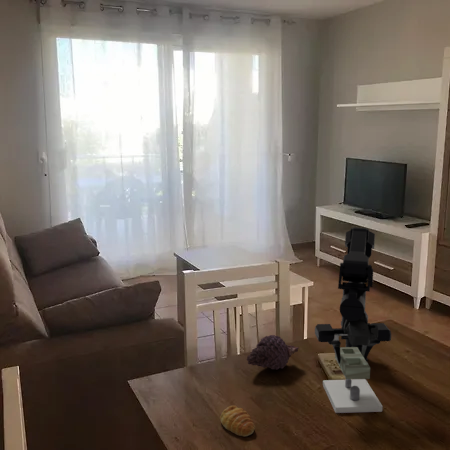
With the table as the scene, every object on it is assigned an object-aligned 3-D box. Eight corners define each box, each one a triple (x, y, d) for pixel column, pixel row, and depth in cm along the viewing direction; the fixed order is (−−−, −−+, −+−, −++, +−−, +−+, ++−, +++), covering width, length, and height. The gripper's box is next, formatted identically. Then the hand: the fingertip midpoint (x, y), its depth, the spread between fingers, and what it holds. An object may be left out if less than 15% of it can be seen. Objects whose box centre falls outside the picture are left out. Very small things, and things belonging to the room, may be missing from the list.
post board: (322, 385, 145) (323, 368, 144) (365, 384, 146) (366, 367, 145) (335, 412, 131) (336, 394, 130) (382, 411, 132) (383, 393, 131)
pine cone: (255, 382, 147) (255, 349, 145) (237, 368, 155) (237, 337, 153) (305, 367, 155) (306, 336, 153) (285, 355, 164) (286, 325, 162)
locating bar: (369, 378, 130) (370, 367, 130) (345, 379, 130) (346, 368, 130) (356, 357, 142) (357, 347, 142) (334, 357, 142) (335, 347, 141)
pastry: (262, 432, 124) (262, 417, 123) (239, 442, 120) (239, 427, 119) (238, 414, 131) (238, 400, 131) (216, 423, 128) (216, 409, 127)
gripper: (324, 319, 126) (322, 378, 129) (400, 318, 126) (396, 377, 129) (315, 303, 136) (313, 358, 140) (385, 302, 137) (382, 357, 140)
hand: (351, 362), depth 137 cm, fingers closed on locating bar, 6 cm apart
